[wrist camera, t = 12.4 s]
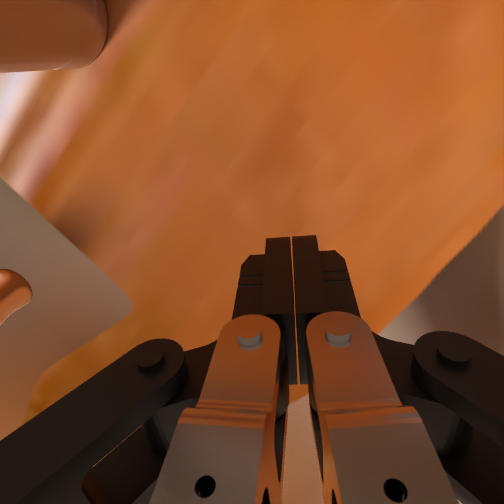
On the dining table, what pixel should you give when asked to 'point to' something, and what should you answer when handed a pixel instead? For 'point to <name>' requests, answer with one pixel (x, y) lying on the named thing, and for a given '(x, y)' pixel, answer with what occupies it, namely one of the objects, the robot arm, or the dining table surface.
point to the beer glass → (12, 293)
